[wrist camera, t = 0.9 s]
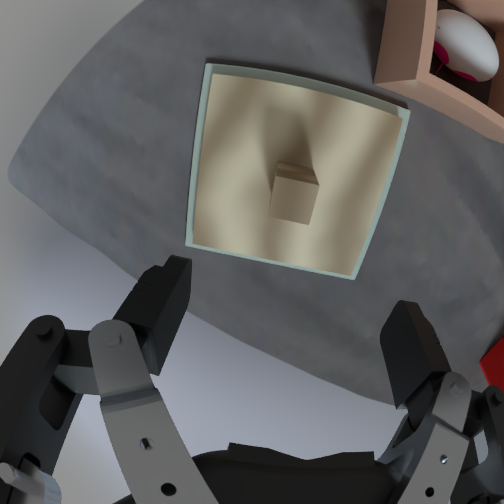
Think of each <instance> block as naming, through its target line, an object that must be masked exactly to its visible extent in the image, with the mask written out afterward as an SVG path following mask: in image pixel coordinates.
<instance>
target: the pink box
mask: <svg viewBox="0 0 504 504" xmlns="http://www.w3.org/2000/svg"><path fill="white" fill-rule="evenodd" d="M446 1H448V2H450V3H452V4H453V5H455V6H457V7H458V8H460V9H462V10H463V11H465V12H466V13H468V14H469V15H471V16H473V17H474V18H476V19H477V20H478V21H480V22H481V23H483V24H484V25H486V26H487V27H488V28H490V29H491V30H492V31H494V32H495V46H496V48H497V52H498V56H499V67H498V70H497V72H496V74H495V75H494V76H493V77H492V79H491V86H490V93H489V99H488V104H487V106H486V105H484V104H483V103H481V102H480V101H478V100H477V99H475V98H474V97H472V96H470V95H469V94H467V93H465V92H464V91H462V90H460V89H458V88H457V87H455V86H453V85H451V84H449V83H448V82H446V81H444V80H442V79H440V78H438V77H436V76H434V75H432V74H430V73H429V71H430V65H431V59H432V52H433V45H434V37H435V28H436V17H437V3H438V0H387V6H386V13H385V20H384V27H383V33H382V40H381V45H380V51H379V57H378V62H377V67H376V72H375V77H374V82H373V85H376V86H379V87H382V88H385V89H387V90H390V91H393V92H395V93H398V94H400V95H403V96H405V97H408V98H410V99H412V100H415V101H417V102H419V103H421V104H424V105H426V106H428V107H430V108H432V109H434V110H437V111H439V112H441V113H443V114H445V115H447V116H449V117H451V118H452V119H454V120H456V121H458V122H460V123H462V124H464V125H465V126H467V127H469V128H471V129H472V130H474V131H476V132H478V133H479V134H481V135H483V136H484V137H486V138H489V139H492V140H494V141H497V142H500V143H503V144H504V0H446Z"/></svg>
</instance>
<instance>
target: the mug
mask: <svg viewBox="0 0 504 504" xmlns="http://www.w3.org/2000/svg"><path fill="white" fill-rule="evenodd" d="M479 364H480V366H481V368H482V371H483V373H484V375H485V378H486V380H487V382H488V385H489V386H490V385H495V386H498V387H499V388H500V389H501V390H502V391H503V392H504V336H503V337H502V338H501V339H500V340H499V341H498V342H497V343H496V344H495V345H494V347H493V348H492V349H491V350H490V351H489V352H488V353H487V354H486V355H485V356H484V357H483V358H482V359H481V360H480V363H479Z"/></svg>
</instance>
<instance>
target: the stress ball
mask: <svg viewBox="0 0 504 504" xmlns="http://www.w3.org/2000/svg"><path fill="white" fill-rule="evenodd" d="M433 50H434V52H435V53H436V55H437V56H438V57H439V59H440V60H441V61H442V63H441V65H440V67H439V69H438V71H439V70H440V68H441V67H442V65H443V64H445V65H446V66H447V67H448V68H449V69H451V70H452V71H453V72H455V73H456V74H458V75H459V76H461V77H463V78H466V79H468V80H472V81H477V82H482V81H487V80H489V79H491V78H492V77H493V76H494V75H495V74H496V72H497V70H498V67H499V56H498V52H497V48H496V46H495V44H494V42H493V40H492V38H491V37H490V35H489V34H488V32H487V31H486V30H485V29H484V28H483V27H482V26H481V25H480V24H479V23H478V22H477V21H475V20H474V19H473V18H471V17H470V16H468V15H466V14H464V13H462V12H459V11H456V10H450V9H444V10H439V11H437V17H436V28H435V37H434V45H433ZM438 71H437V73H438ZM437 73H436V74H437ZM435 76H436V75H435Z"/></svg>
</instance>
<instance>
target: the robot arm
mask: <svg viewBox="0 0 504 504" xmlns="http://www.w3.org/2000/svg"><path fill="white" fill-rule="evenodd" d="M191 273H192V260H191V259H189V258H184V257H180V256H175V255H171V256H170V257H169V258H168V260H167V261H166V263H165V265H164V266H163V267H161V266H157V265H155V266H153V267H151V268H150V269H148V270H147V271H145V272H144V273H143V274H142V276H141V277H140V279H139V280H138V283H136V284H135V286H134V287H133V290H132V291H131V292H130V293H129V295H128V296H127V298H126V299H125V301H124V302H123V304H122V305H121V307H120V308H119V310H118V311H117V313H116V314H115V316H114V317H113V319H112V320H106V321H102V322H100V323H99V324H97V325H95V326H94V327H93V328H92V330H91V331H82V330H68V329H65V327H64V325H63V322H62V321H61V320H60V319H59V318H58V317H55V316H52V315H44V316H40V317H38V318H36V319H34V320H33V321H31V322H30V323H29V325H28V326H27V328H26V329H25V330H24V332H23V333H22V335H21V336H20V338H19V339H18V340H17V342H16V343H15V345H14V346H13V348H12V349H11V351H10V352H9V354H8V355H7V357H6V359H5V360H4V362H3V363H2V365H1V366H0V504H61V490H60V487H59V485H58V483H57V482H56V481H55V479H54V478H53V477H52V474H53V471H54V468H55V465H56V462H57V459H58V457H59V453H60V450H61V448H62V446H63V443H64V440H65V438H66V435H67V433H68V430H69V428H70V425H71V423H72V420H73V418H74V415H75V413H76V411H77V408H78V406H79V404H80V401H81V399H82V396H83V394H92V395H100V397H101V401H100V408H101V411H102V415H103V419H104V422H105V425H106V428H107V432H108V435H109V438H110V441H111V443H112V447H113V449H114V452H115V455H116V458H117V460H118V463H119V465H120V468H121V470H122V473H123V475H124V478H125V480H126V482H127V485H128V487H129V489H130V491H131V494H130V495H128V496H126V497H124V498H123V499H121V500H119V501H117V502H115V503H113V504H447V503H448V501H449V498H450V501H451V504H504V392H503V391H502V390H501V389H500V388H499V387H498V386H495V385H490V386H488V387H487V388H486V389H485V390H484V391H483V392H482V393H480V392H477V391H473V390H471V387H470V385H469V383H468V381H467V380H466V378H465V377H464V376H462V375H461V374H459V373H457V372H452V370H451V368H450V365H449V363H448V360H447V358H446V356H445V353H444V351H443V348H442V346H441V345H440V341H439V339H438V337H436V336H437V335H436V333H435V330H434V328H433V326H432V325H431V323H430V322H429V321H428V320H427V319H426V318H425V316H424V315H423V313H422V311H421V309H420V307H419V305H418V304H417V303H415V302H409V301H403V300H400V301H398V302H397V304H396V305H395V307H394V309H393V310H392V312H391V314H390V316H389V317H388V319H387V321H386V323H385V324H384V326H383V328H382V330H381V333H380V344H381V348H382V351H383V355H384V359H385V363H386V367H387V371H388V375H389V380H390V384H391V388H392V393H393V397H394V402H395V407H396V409H408V413H407V414H406V415H405V416H404V418H403V419H402V421H401V423H400V425H399V427H398V429H397V431H396V433H395V435H394V437H393V438H392V440H391V442H390V443H389V445H388V447H387V449H386V451H385V452H384V453H383V454H382V456H381V457H380V458H378V460H376V461H375V460H374V452H373V451H371V452H342V453H338V454H334V455H330V456H325V457H321V458H316V459H311V460H304V459H300V458H297V457H293V456H290V455H287V454H284V453H281V452H278V451H275V450H272V449H269V448H263V447H255V446H248V445H242V444H236V443H229V446H228V449H227V450H220V451H213V452H207V453H203V454H199V455H196V456H194V457H191V456H190V454H189V452H188V450H187V449H186V447H185V445H184V443H183V441H182V439H181V437H180V435H179V433H178V431H177V429H176V427H175V425H174V423H173V421H172V419H171V416H170V414H169V412H168V410H167V408H166V405H165V403H164V401H163V399H162V397H161V395H160V392H159V391H158V389H157V388H155V386H154V384H153V382H152V380H151V377H150V373H151V374H154V375H157V376H159V374H160V372H161V369H162V367H163V365H164V362H165V359H166V357H167V355H168V352H169V350H170V347H171V345H172V342H173V340H174V338H175V335H176V333H177V331H178V328H179V326H180V323H181V321H182V319H183V316H184V314H185V312H186V309H187V307H188V303H189V299H190V292H191ZM483 430H484V432H485V436H486V441H487V445H488V456H487V458H486V460H485V461H484V462H482V463H481V464H478V458H477V452H476V447H475V442H474V437H475V436H476V435H478V434H479V433H480V432H482V431H483Z"/></svg>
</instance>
